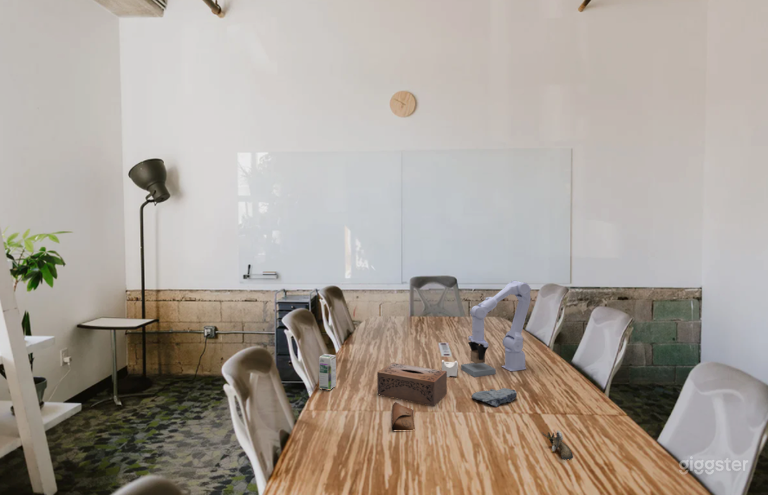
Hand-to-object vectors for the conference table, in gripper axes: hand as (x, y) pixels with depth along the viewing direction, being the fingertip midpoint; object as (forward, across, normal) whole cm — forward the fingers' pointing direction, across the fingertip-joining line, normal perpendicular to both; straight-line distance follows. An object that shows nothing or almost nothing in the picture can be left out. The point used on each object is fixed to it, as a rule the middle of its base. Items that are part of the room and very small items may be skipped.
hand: (478, 357), depth 203 cm
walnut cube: (+2, 0, 0) cm, 2 cm away
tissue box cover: (+8, +14, -42) cm, 45 cm away
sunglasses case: (+8, +35, -55) cm, 66 cm away
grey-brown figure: (+7, +73, -19) cm, 76 cm away
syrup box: (+7, -6, -74) cm, 75 cm away
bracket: (+7, -4, -13) cm, 16 cm away
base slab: (+7, 0, 0) cm, 7 cm away
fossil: (+7, +33, -13) cm, 36 cm away
